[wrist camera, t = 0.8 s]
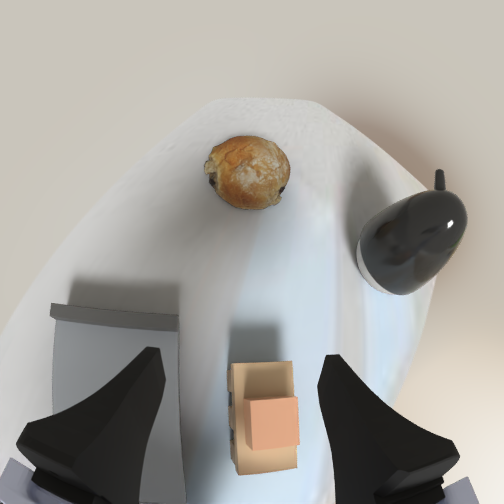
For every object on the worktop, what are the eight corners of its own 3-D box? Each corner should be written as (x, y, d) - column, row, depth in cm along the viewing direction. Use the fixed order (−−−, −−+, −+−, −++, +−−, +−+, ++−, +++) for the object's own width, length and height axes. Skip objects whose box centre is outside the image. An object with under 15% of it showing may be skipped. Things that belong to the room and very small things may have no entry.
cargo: (288, 439, 19) (299, 444, 17) (245, 443, 18) (252, 450, 16) (286, 395, 21) (297, 396, 19) (243, 398, 20) (250, 400, 18)
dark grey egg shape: (401, 241, 37) (472, 180, 24) (407, 309, 32) (498, 262, 19) (343, 222, 35) (411, 143, 22) (344, 297, 31) (439, 234, 17)
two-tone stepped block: (282, 457, 22) (297, 467, 18) (231, 462, 20) (238, 475, 17) (277, 363, 26) (292, 360, 22) (226, 365, 25) (233, 363, 21)
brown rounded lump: (248, 234, 36) (293, 215, 30) (183, 185, 32) (218, 151, 25) (271, 182, 41) (311, 159, 34) (218, 137, 36) (252, 104, 30)
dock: (186, 497, 18) (186, 511, 15) (69, 479, 15) (56, 489, 12) (178, 323, 25) (177, 314, 22) (65, 312, 23) (51, 302, 20)
